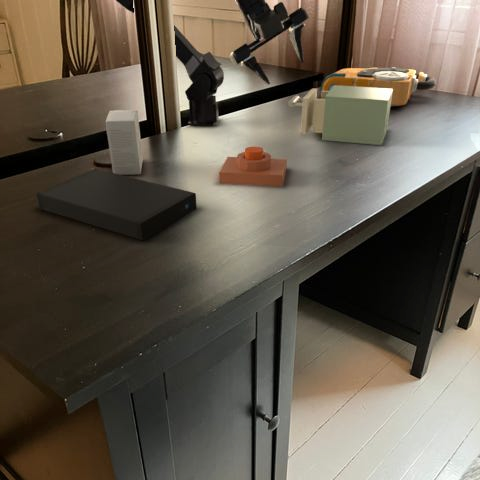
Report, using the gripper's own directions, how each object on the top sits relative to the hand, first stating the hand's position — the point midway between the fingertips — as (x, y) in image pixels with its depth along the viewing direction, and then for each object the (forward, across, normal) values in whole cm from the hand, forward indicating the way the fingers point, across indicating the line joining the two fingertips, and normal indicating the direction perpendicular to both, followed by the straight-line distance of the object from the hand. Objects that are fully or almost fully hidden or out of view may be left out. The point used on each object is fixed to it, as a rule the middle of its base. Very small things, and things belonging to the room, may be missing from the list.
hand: (285, 73), depth 124 cm
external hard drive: (+2, -45, -38) cm, 59 cm away
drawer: (+15, +1, -3) cm, 15 cm away
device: (+22, +26, +25) cm, 42 cm away
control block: (+11, -21, -27) cm, 36 cm away
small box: (-2, -42, -18) cm, 45 cm away
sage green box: (+20, +7, -6) cm, 22 cm away
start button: (+8, -19, -28) cm, 35 cm away
